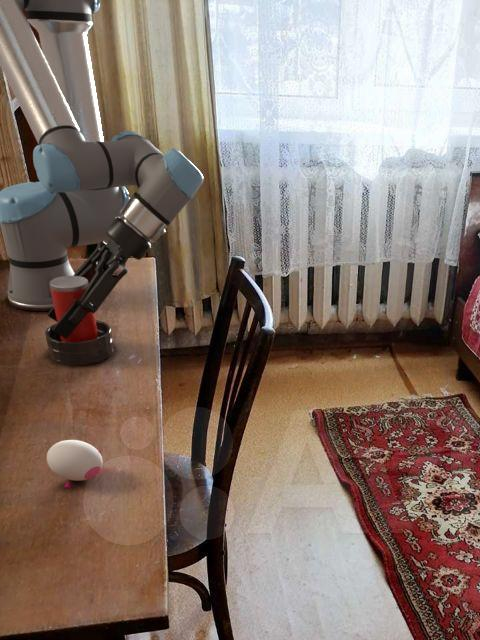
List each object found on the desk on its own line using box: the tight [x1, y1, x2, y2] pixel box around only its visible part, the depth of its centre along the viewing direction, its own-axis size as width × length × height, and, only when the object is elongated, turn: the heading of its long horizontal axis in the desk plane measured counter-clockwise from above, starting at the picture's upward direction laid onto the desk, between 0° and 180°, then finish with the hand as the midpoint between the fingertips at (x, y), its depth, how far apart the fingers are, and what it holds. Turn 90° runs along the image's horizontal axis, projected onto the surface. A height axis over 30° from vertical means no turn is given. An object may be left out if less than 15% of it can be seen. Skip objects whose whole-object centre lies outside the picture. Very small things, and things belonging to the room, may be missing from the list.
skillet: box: [44, 319, 115, 367], centre depth 125 cm, size 11×11×4 cm
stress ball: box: [46, 439, 104, 489], centre depth 93 cm, size 8×8×7 cm
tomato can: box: [50, 276, 98, 342], centre depth 122 cm, size 7×7×12 cm
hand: (56, 326), depth 121 cm, fingers closed on tomato can, 7 cm apart
